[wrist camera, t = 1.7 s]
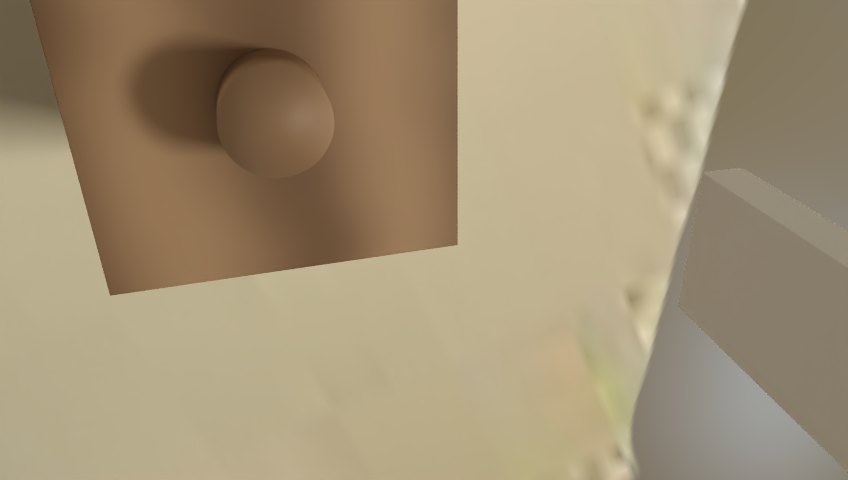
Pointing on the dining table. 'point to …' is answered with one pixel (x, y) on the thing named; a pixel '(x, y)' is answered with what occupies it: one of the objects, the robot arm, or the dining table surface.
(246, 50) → the lid
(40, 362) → the dining table surface
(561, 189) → the dining table surface
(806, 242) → the robot arm
